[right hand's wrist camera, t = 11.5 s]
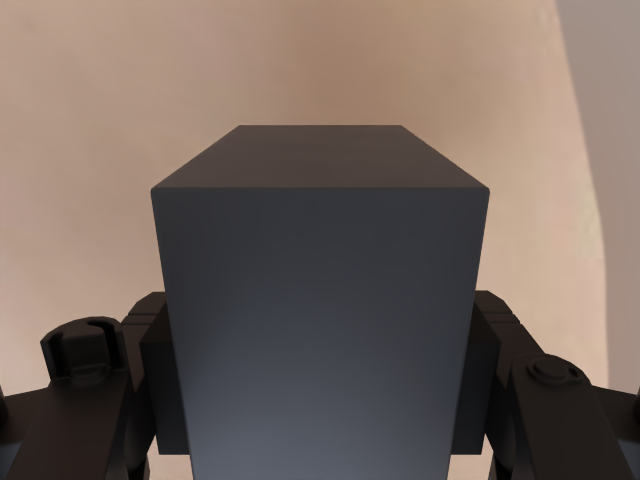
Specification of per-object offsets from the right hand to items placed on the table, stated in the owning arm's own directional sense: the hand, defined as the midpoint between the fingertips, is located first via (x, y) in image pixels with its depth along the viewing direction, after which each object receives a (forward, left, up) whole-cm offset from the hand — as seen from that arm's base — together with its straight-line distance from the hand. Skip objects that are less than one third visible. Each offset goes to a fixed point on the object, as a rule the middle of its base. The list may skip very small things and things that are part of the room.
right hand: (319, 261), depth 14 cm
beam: (+33, +7, -1) cm, 34 cm away
